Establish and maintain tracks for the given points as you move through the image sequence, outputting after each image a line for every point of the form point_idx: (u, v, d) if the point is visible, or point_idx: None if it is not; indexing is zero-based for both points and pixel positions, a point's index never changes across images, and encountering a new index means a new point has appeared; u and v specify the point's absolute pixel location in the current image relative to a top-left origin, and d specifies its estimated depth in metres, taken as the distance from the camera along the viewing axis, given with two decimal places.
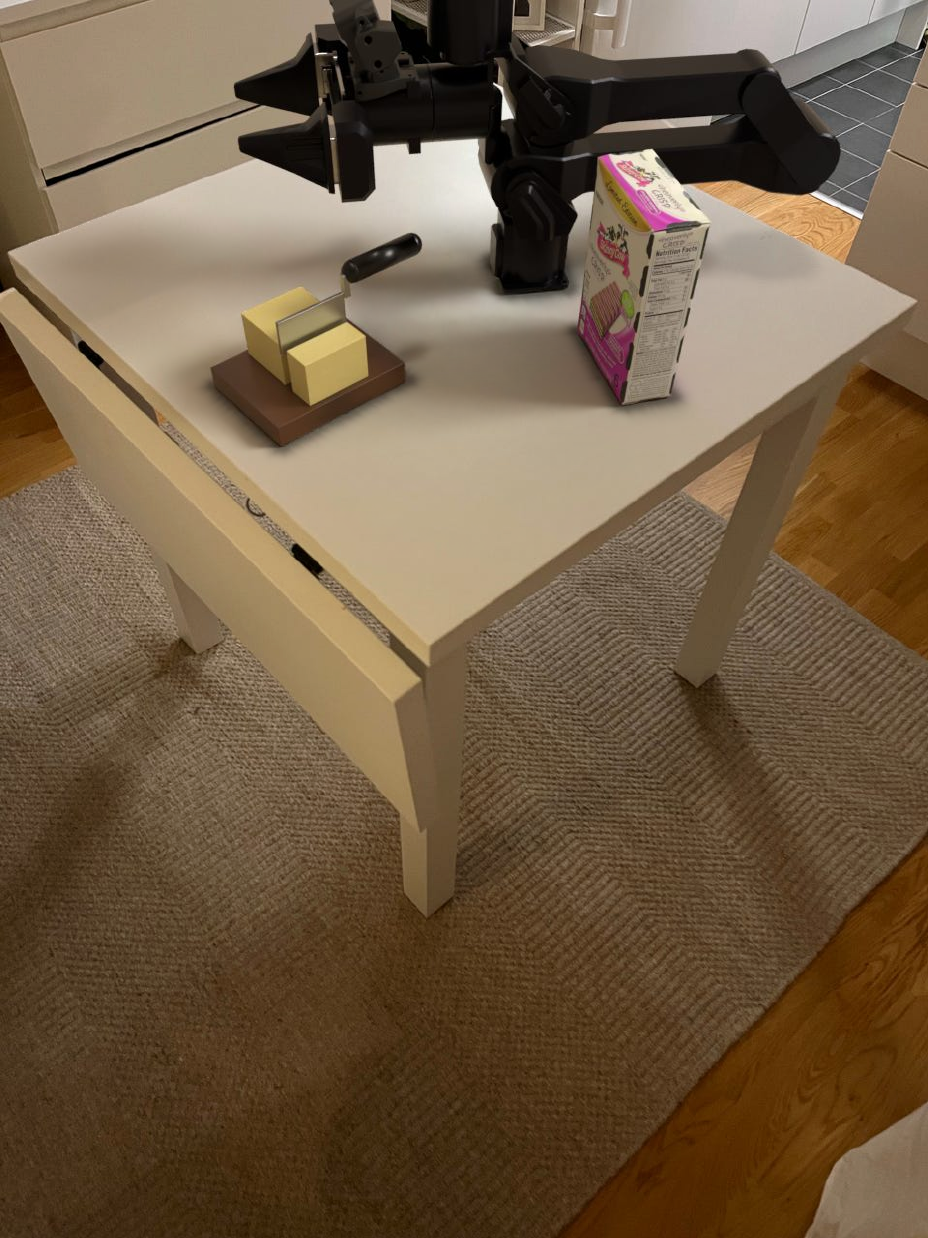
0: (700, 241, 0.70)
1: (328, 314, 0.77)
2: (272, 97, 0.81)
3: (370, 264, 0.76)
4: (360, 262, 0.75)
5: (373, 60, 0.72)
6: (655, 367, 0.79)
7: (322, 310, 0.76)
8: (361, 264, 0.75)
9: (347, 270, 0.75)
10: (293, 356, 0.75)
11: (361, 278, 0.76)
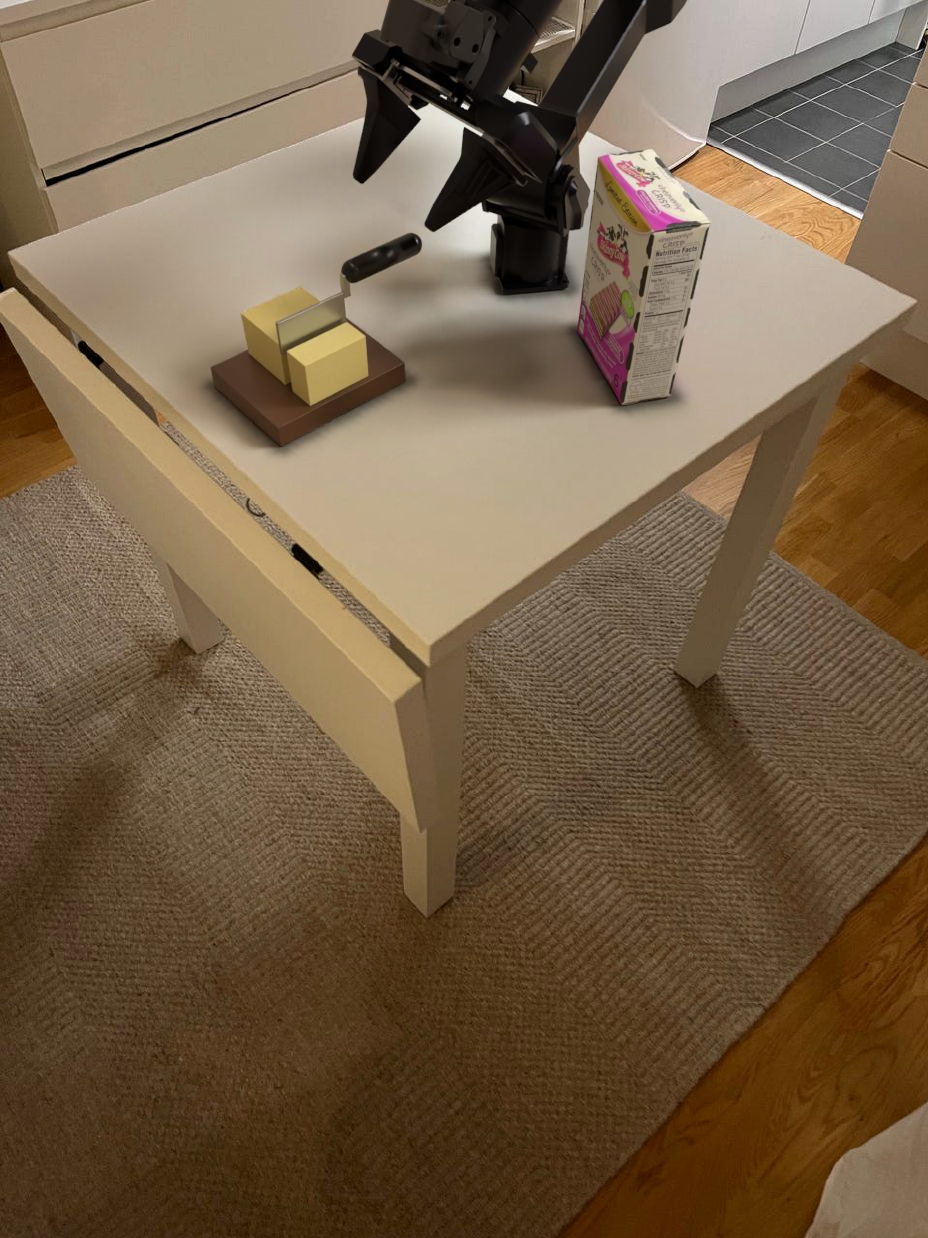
0: (700, 241, 0.70)
1: (328, 314, 0.77)
2: (383, 151, 0.77)
3: (370, 264, 0.76)
4: (360, 262, 0.75)
5: (470, 51, 0.66)
6: (655, 367, 0.79)
7: (322, 310, 0.76)
8: (361, 264, 0.75)
9: (347, 270, 0.75)
10: (293, 356, 0.75)
11: (361, 278, 0.76)
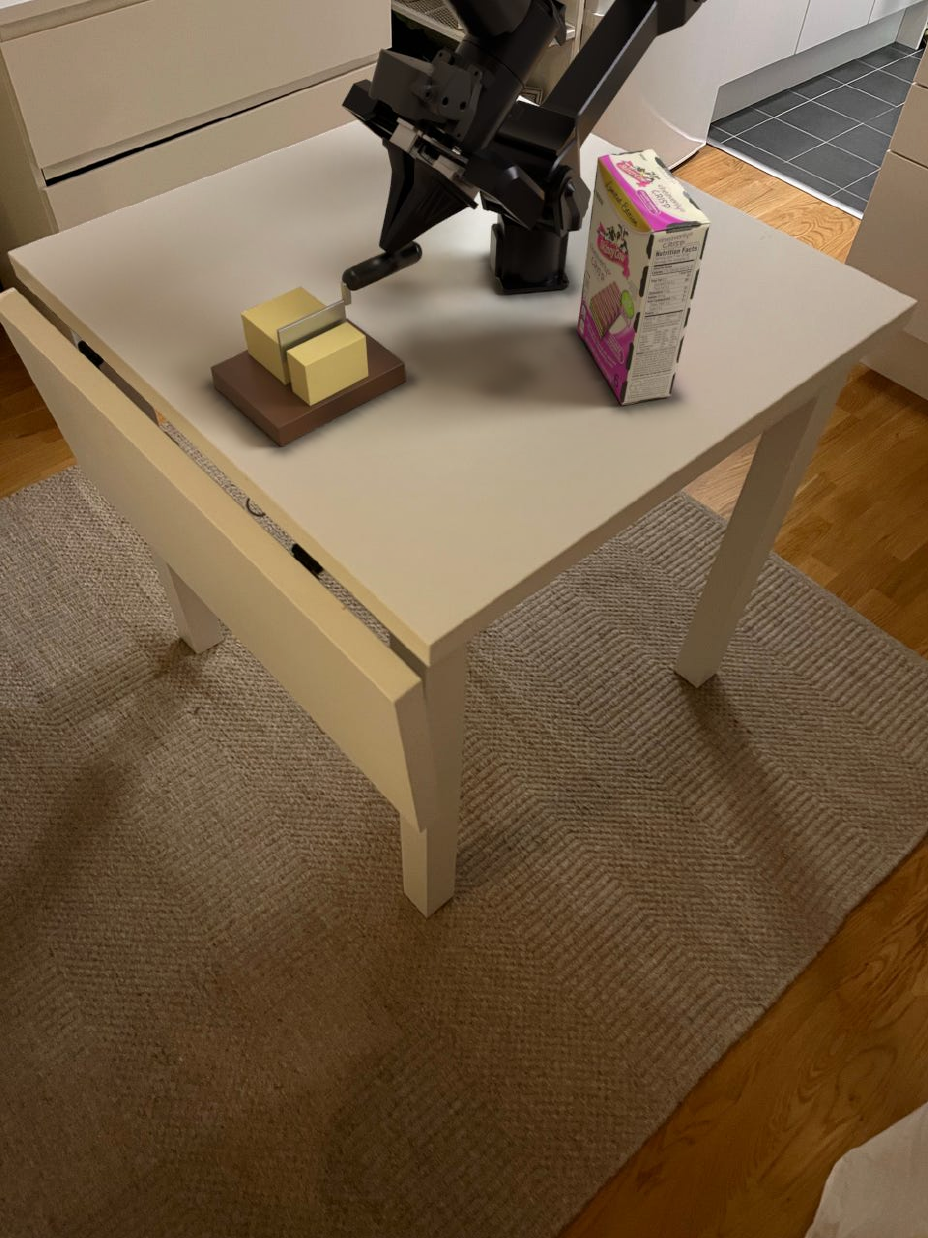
0: (700, 241, 0.70)
1: (329, 322, 0.78)
2: None
3: (371, 272, 0.76)
4: (361, 270, 0.76)
5: (458, 108, 0.68)
6: (655, 367, 0.79)
7: (323, 318, 0.77)
8: (362, 272, 0.76)
9: (348, 278, 0.76)
10: (293, 356, 0.75)
11: (362, 286, 0.77)
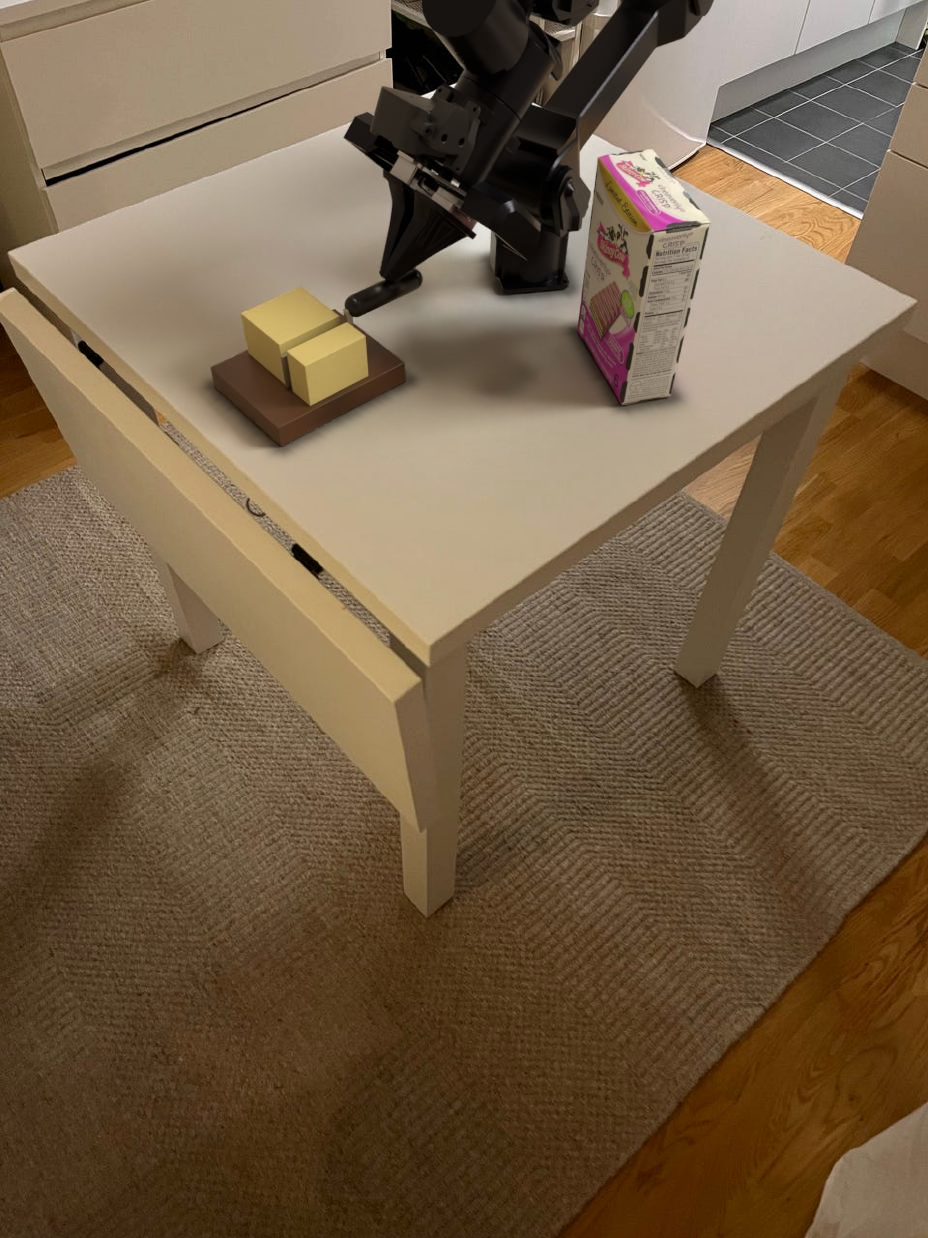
0: (700, 241, 0.70)
1: None
2: None
3: (372, 299, 0.78)
4: (363, 297, 0.78)
5: (457, 144, 0.70)
6: (655, 367, 0.79)
7: None
8: (364, 299, 0.78)
9: (350, 305, 0.78)
10: (293, 356, 0.75)
11: (364, 313, 0.79)
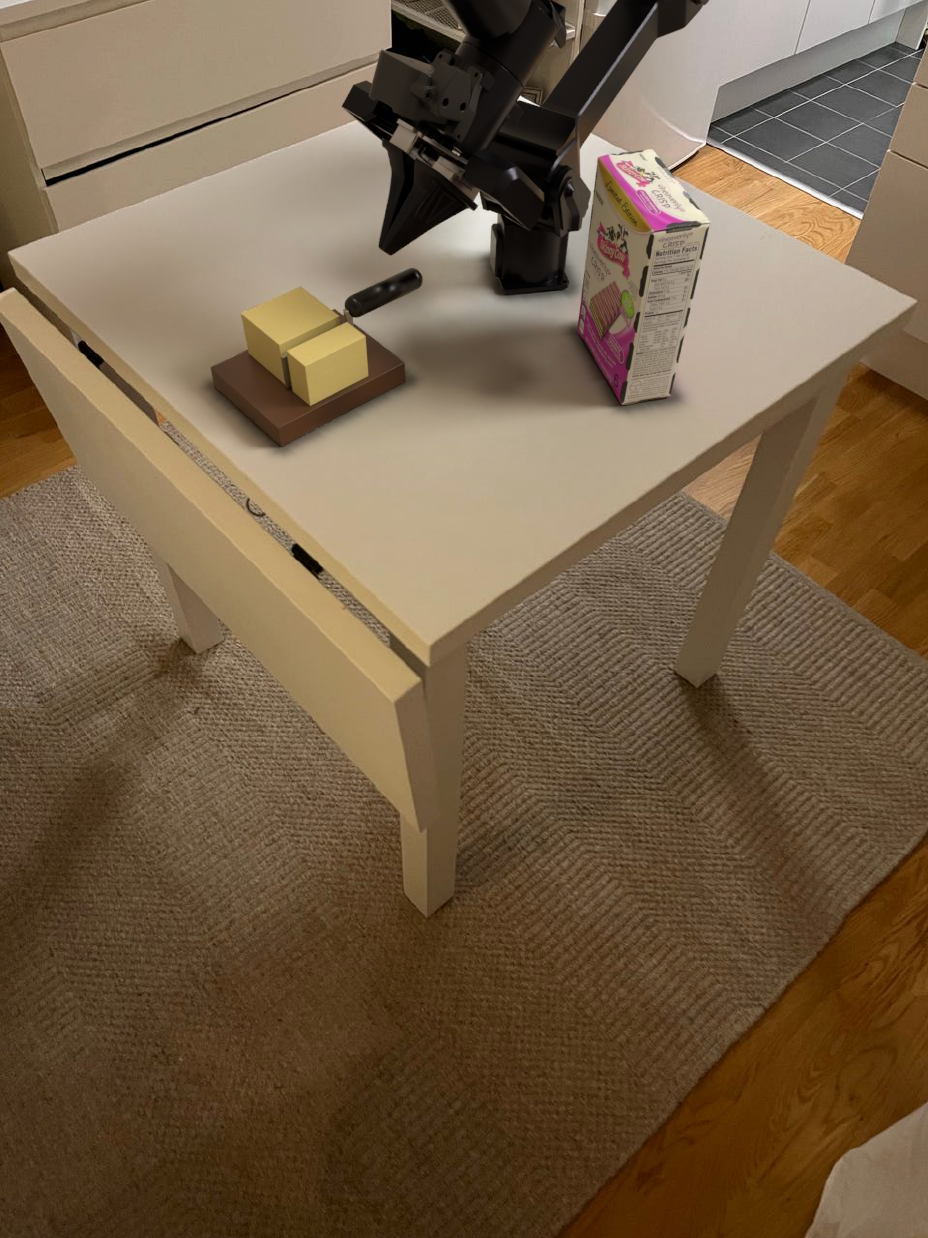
0: (700, 241, 0.70)
1: None
2: None
3: (372, 299, 0.78)
4: (363, 298, 0.78)
5: (458, 109, 0.68)
6: (655, 367, 0.79)
7: None
8: (364, 299, 0.78)
9: (350, 306, 0.78)
10: (293, 356, 0.75)
11: (364, 313, 0.79)
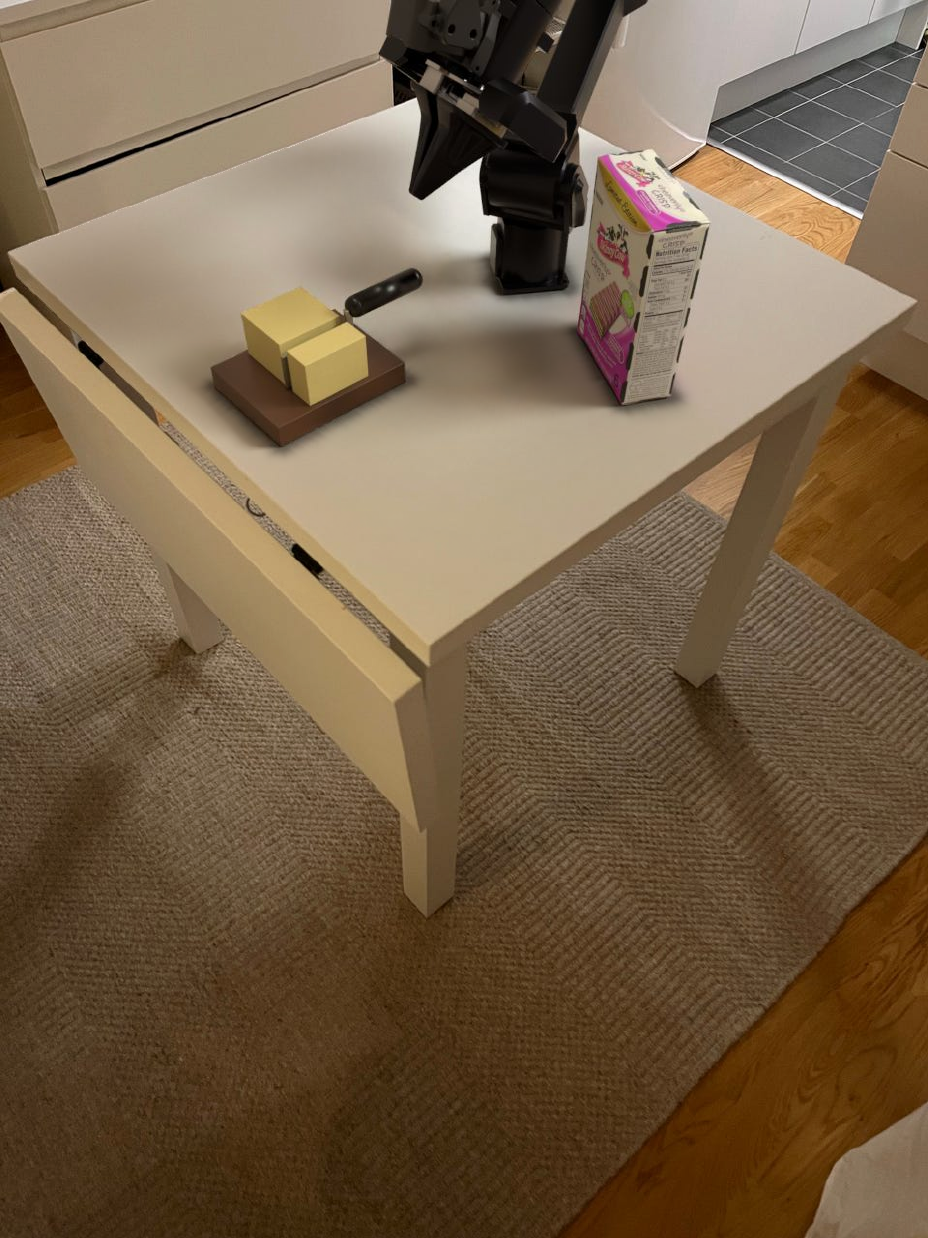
0: (700, 241, 0.70)
1: None
2: None
3: (372, 299, 0.78)
4: (363, 298, 0.78)
5: (468, 37, 0.66)
6: (655, 367, 0.79)
7: None
8: (364, 299, 0.78)
9: (350, 306, 0.78)
10: (293, 356, 0.75)
11: (364, 313, 0.79)
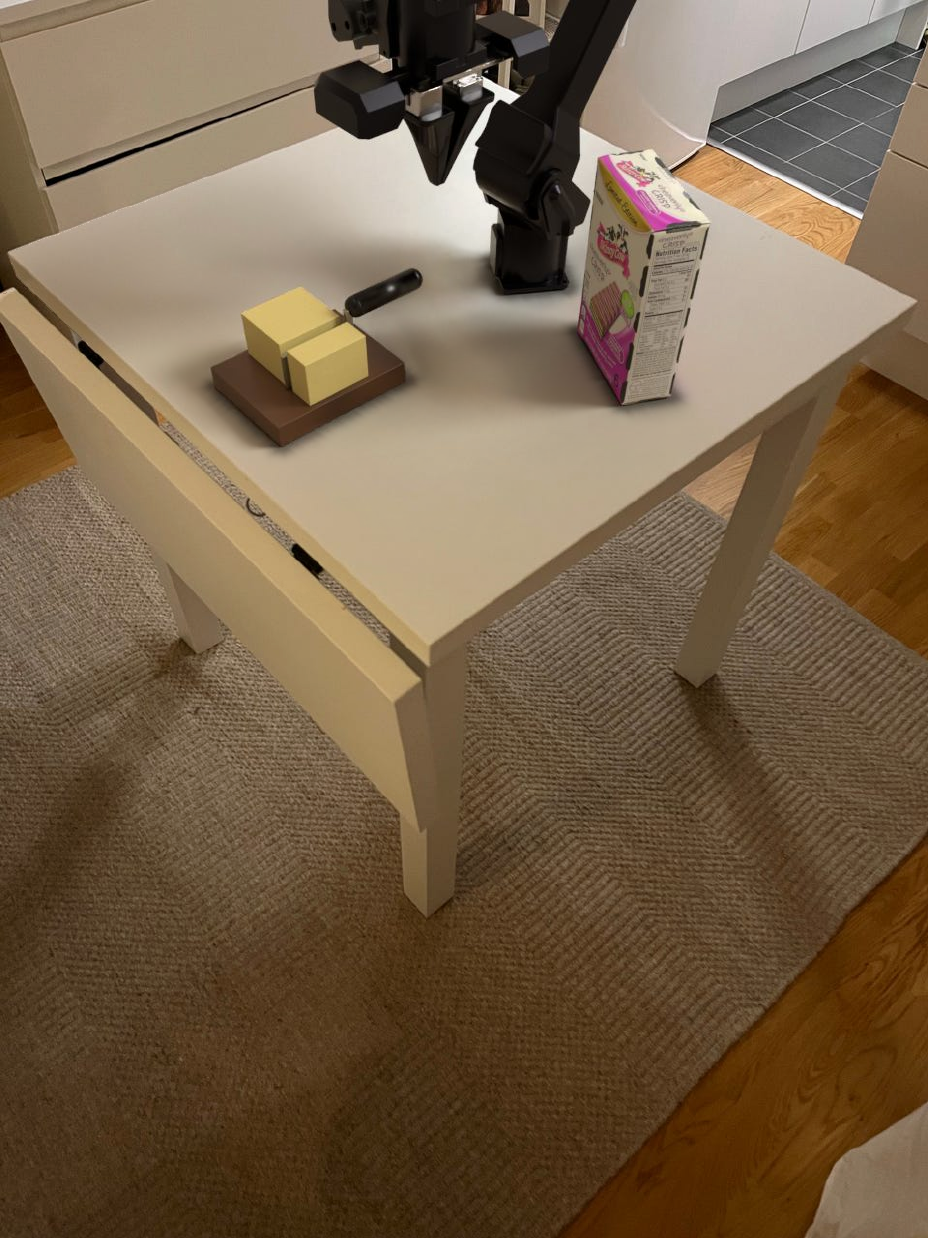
0: (700, 241, 0.70)
1: None
2: None
3: (372, 299, 0.78)
4: (363, 298, 0.78)
5: (345, 29, 0.70)
6: (655, 367, 0.79)
7: None
8: (364, 299, 0.78)
9: (350, 306, 0.78)
10: (293, 356, 0.75)
11: (364, 313, 0.79)
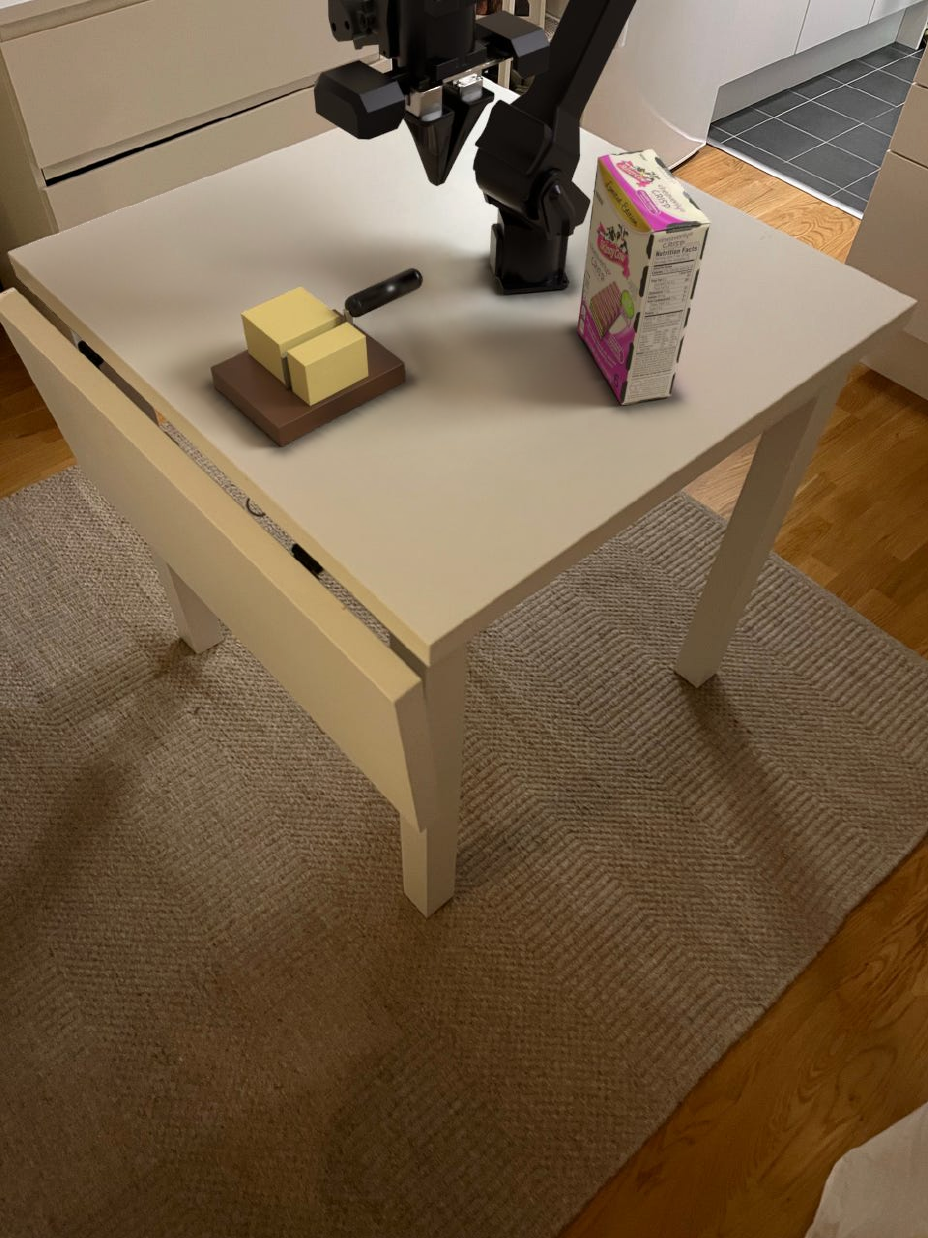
0: (700, 241, 0.70)
1: None
2: None
3: (372, 299, 0.78)
4: (363, 298, 0.78)
5: (345, 29, 0.70)
6: (655, 367, 0.79)
7: None
8: (364, 299, 0.78)
9: (350, 306, 0.78)
10: (293, 356, 0.75)
11: (364, 313, 0.79)
